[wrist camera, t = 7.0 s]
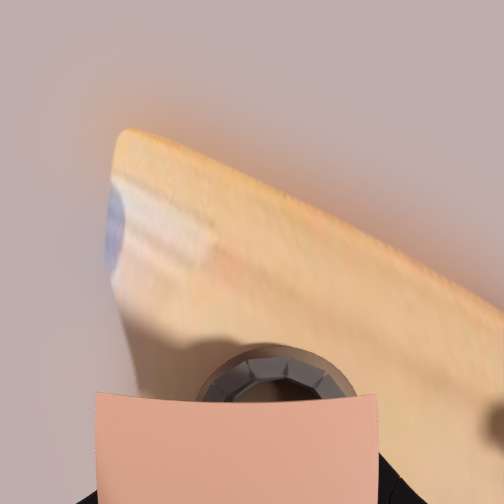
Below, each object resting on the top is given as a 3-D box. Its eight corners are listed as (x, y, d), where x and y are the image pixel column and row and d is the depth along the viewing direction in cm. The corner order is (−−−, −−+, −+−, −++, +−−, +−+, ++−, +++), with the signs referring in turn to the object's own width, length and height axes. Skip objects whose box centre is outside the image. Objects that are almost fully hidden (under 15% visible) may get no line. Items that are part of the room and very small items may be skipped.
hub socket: (253, 525, 16) (245, 549, 12) (166, 402, 22) (140, 401, 18) (390, 437, 18) (411, 444, 14) (296, 317, 24) (297, 299, 20)
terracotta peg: (313, 469, 13) (363, 613, 2) (236, 471, 14) (113, 593, 2) (311, 399, 15) (377, 394, 4) (235, 402, 16) (96, 392, 4)
